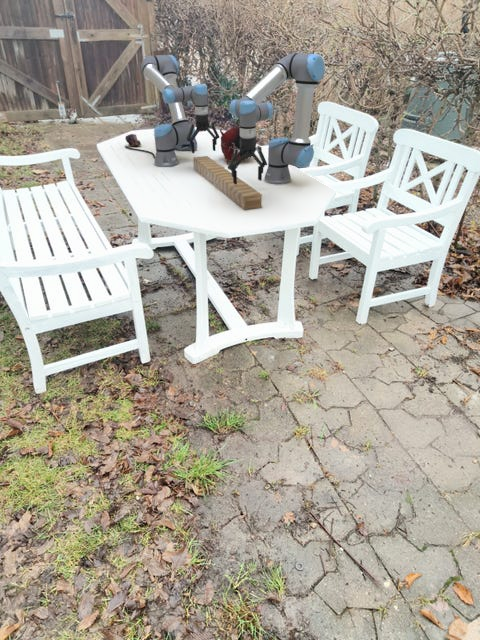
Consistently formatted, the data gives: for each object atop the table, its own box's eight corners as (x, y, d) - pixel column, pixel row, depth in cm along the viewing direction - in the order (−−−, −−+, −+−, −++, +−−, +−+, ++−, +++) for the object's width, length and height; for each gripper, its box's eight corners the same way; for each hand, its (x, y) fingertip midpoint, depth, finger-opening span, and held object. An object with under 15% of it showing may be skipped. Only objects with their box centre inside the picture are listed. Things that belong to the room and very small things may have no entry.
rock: (137, 145, 340) (124, 146, 336) (136, 133, 337) (122, 134, 332) (142, 146, 331) (129, 147, 327) (140, 133, 327) (127, 134, 323)
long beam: (194, 168, 285) (193, 157, 281) (207, 166, 288) (207, 155, 284) (244, 210, 224) (244, 196, 221) (261, 207, 227) (261, 194, 224)
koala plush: (197, 151, 320) (195, 121, 309) (172, 151, 319) (169, 122, 308) (197, 145, 334) (195, 116, 323) (173, 145, 333) (170, 117, 322)
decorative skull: (217, 132, 305) (217, 129, 281) (251, 125, 304) (254, 121, 280) (224, 165, 312) (224, 164, 288) (257, 157, 311) (260, 156, 287)
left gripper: (183, 117, 256) (186, 155, 268) (223, 113, 264) (224, 150, 276) (179, 114, 261) (182, 152, 273) (219, 111, 269) (220, 148, 281)
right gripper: (226, 141, 206) (227, 187, 218) (274, 136, 214) (273, 180, 226) (220, 138, 211) (221, 182, 223) (267, 132, 219) (266, 176, 232)
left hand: (203, 151), depth 274 cm, fingers open, 13 cm apart
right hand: (247, 181), depth 225 cm, fingers open, 13 cm apart
